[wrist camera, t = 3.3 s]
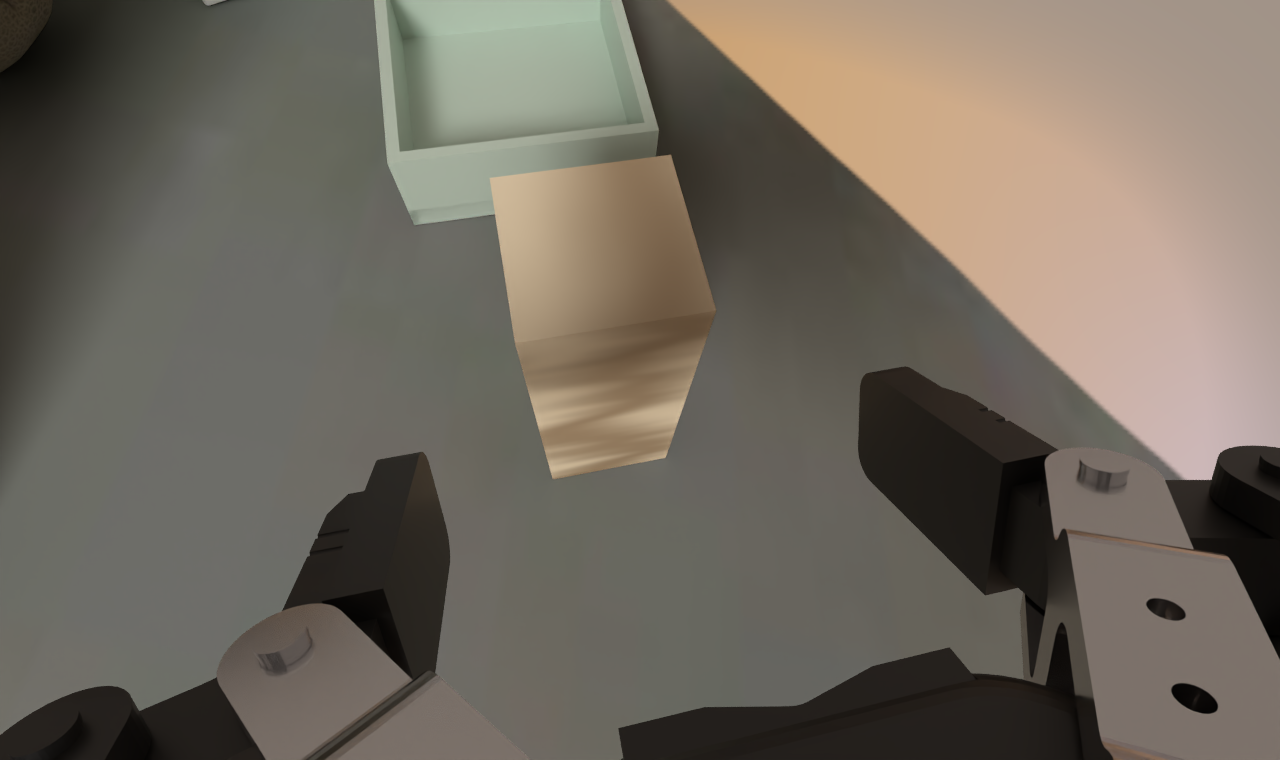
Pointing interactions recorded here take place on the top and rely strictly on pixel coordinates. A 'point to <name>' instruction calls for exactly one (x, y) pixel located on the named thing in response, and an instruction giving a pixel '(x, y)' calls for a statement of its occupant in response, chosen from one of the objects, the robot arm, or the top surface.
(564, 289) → the birch block
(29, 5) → the brown leather ball
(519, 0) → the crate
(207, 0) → the small box
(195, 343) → the top surface
